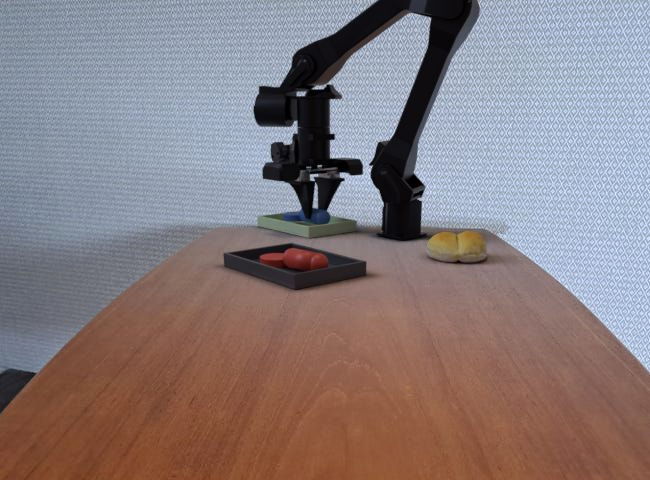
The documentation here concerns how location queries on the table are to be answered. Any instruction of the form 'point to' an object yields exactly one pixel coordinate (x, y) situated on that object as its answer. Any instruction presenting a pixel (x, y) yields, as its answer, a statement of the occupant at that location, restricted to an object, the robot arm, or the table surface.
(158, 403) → the table surface
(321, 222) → the blue elongated piece
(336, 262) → the front tray
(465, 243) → the bread roll
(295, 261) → the red elongated piece
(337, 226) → the back tray
